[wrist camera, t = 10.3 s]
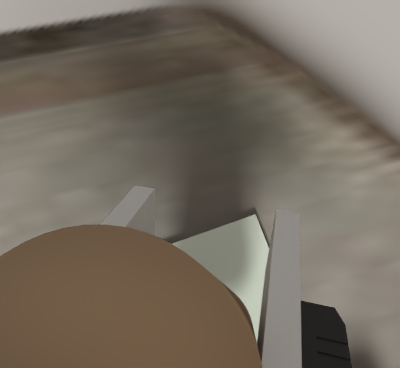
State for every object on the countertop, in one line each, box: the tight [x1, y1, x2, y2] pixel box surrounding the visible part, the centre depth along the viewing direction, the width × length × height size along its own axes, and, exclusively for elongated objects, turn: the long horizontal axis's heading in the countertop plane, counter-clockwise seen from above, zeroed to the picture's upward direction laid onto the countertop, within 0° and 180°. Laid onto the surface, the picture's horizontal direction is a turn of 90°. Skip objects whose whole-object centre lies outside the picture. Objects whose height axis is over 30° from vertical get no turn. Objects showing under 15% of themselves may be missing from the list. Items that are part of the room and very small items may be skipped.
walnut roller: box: [0, 225, 262, 368], centre depth 10 cm, size 4×4×12 cm
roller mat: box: [172, 214, 269, 341], centre depth 19 cm, size 9×9×1 cm
